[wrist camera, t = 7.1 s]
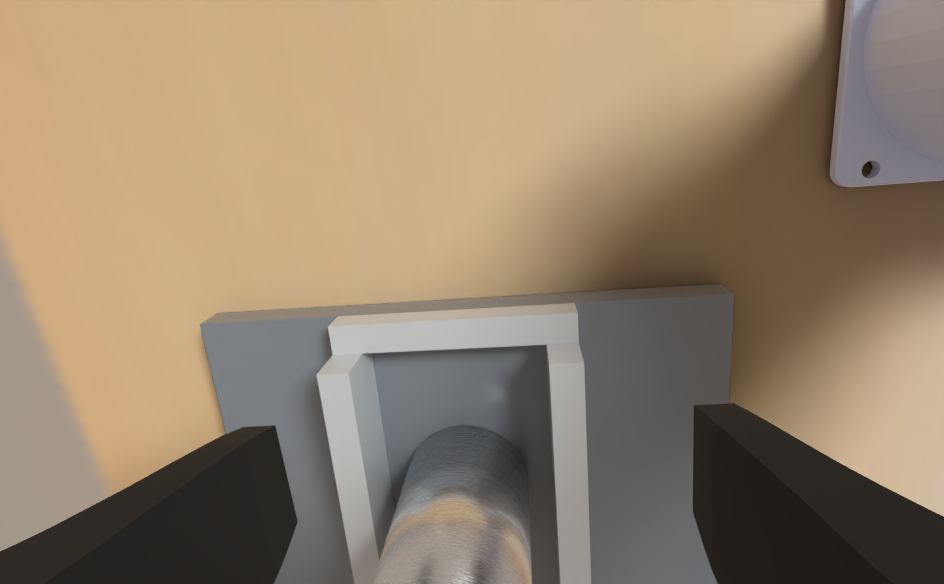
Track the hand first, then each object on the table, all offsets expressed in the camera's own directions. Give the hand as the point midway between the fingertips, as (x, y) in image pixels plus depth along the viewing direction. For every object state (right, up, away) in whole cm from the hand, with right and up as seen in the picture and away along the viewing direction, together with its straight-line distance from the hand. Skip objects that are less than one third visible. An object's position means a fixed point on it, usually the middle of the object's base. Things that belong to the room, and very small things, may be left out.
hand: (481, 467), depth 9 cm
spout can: (0, -4, +11) cm, 11 cm away
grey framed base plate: (0, -4, +12) cm, 13 cm away
